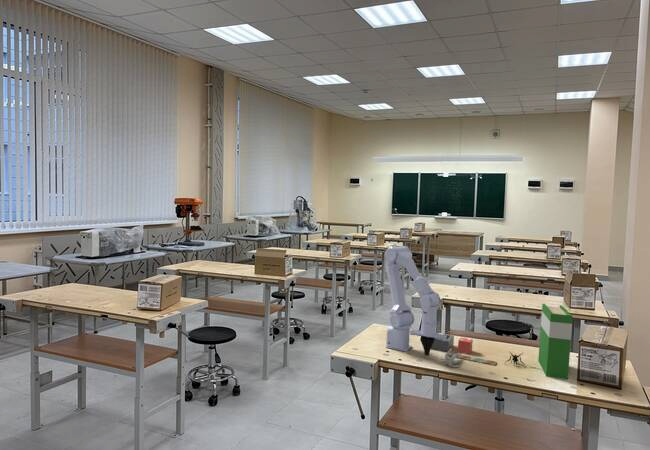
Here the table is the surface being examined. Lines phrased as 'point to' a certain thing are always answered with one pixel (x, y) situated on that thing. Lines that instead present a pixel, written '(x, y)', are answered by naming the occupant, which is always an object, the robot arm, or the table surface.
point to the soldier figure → (452, 359)
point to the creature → (515, 359)
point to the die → (465, 345)
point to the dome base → (444, 343)
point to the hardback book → (555, 341)
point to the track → (473, 359)
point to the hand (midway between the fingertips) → (426, 354)
